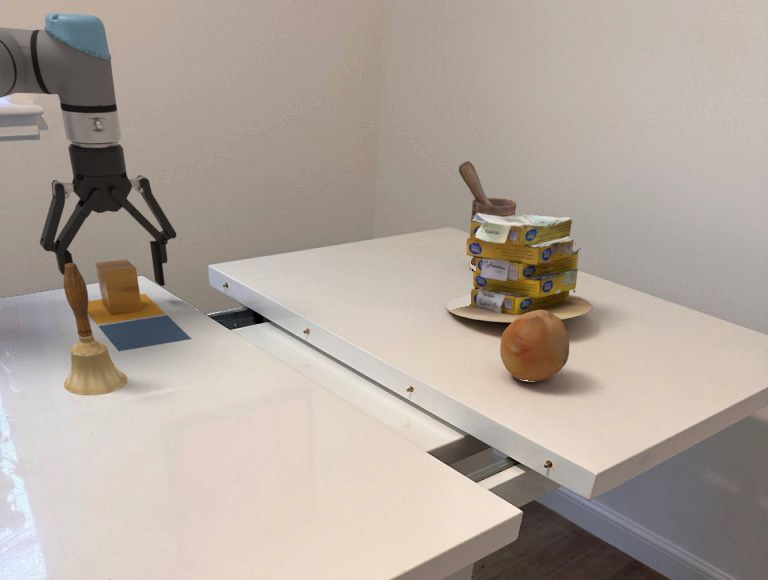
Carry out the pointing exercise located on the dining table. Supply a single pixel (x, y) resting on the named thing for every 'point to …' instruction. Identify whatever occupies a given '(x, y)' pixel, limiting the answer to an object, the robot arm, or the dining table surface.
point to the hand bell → (88, 346)
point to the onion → (535, 346)
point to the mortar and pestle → (484, 197)
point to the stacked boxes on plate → (522, 268)
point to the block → (119, 286)
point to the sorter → (136, 326)
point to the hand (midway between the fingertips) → (118, 288)
